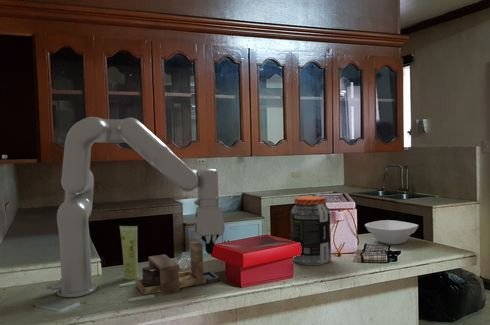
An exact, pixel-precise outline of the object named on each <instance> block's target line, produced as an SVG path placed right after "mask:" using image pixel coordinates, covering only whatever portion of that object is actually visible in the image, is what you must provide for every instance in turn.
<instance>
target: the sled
mask: <svg viewBox="0 0 490 325" xmlns="http://www.w3.org/2000/svg"><path fill="white" fill-rule="evenodd" d="M189 246H190V247H189V249H190V250H189V251H190V270H186V271H181V272H180V271H179V286H180V289H181V288H186V287H191V286H196V285H203V284H207V283H206V277H204V274H203V272H204V252H203V250H204V249H203V248H204V247H203V246H204V245H203V244H202V243H201V242H199V241H198V240H196V241H190V242H189ZM134 280H135V281H134V282H136V285H135V286H136V288H138V290H139V291H140V293H141V294H142V295H150V294H154V293H158V292H160V293H161V289H160V285H157V286H152V287H146V288H145V287H144V286H143V278H139V279H138V278H137V279H134Z"/></svg>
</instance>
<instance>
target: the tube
mask: <svg viewBox="0 0 490 325" xmlns="http://www.w3.org/2000/svg"><path fill="white" fill-rule="evenodd" d="M119 231H120V240H121V250H122V262H123V274H124V275H123V276H124V280H127V281H128V280H129V281H131V280H137V279H138V278H139V265H138V264H139V263H138V257H139V256H138V225H119Z"/></svg>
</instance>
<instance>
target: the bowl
mask: <svg viewBox="0 0 490 325" xmlns="http://www.w3.org/2000/svg"><path fill="white" fill-rule="evenodd" d="M364 227H365V228H366V229H367V231H368V232H369V233H371V234H372V235H373V237H374V238H375V241H377V242H379V243H383V244H387V245H398V244H403V243H407V240H408V239H409V238H410V236H411V235H412V234H414V233H415V232H416V231H417V229H418V228H419V224H416V223H412V222H407V221H401V220H392V219H391V220H390V219H386V220H385V219H384V220H377V221H371V222H367V223H365V224H364Z"/></svg>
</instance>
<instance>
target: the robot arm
mask: <svg viewBox="0 0 490 325" xmlns="http://www.w3.org/2000/svg"><path fill="white" fill-rule="evenodd" d="M64 140H65V142H64V148H63V149H64V150H63V159H62V172H61V178H60V182H61V187H62V189H63V190H64V201H63V202H62V203H61V204H60V205H59V207H58V209H57V213H56V223H57V229H58V237H59V238H58V239H59V254H60V255H59V256H60V257H59V258H60V274H61V275H60V278H59V280H57V282H48V283H46V289H47V290H50V291H55V290H57V291H56V295H57V296H58V297H61V298H78V297H82V296H87V295H90V294H92V293H94V292H96V290H97V289H98V286H97V284H96V282H93V280H92V278H93V276H92V258H91V257H92V256H91V255H92V254H91V239H90V238H91V236H90V235H91V234H90V228H89V227H90V226H89V218H90V216H91V213H92V212H93V211H92V210H93V200H94V198H93V197H94V186H95V178H94V174H93V172H92V170H91V169H90V168H91V158H92V154H91V153H92V146H93V145H94V144H95V143H99V144H101V143H126V144H127V145H128V146H130V147H131V148H132V149H133V150H134V151H135V152H136V153H137V154H138V155H139V156H141V157H142V158H143V159H144V160H145V161H146V162H147V163H148V164H150V165H151V166H152V167H153V168H154V169H156V170H158V171H159V172H160V173H161V174H163V176H165V177H166V178H167V179H168V180H169V181H170V182H172V183H173V184H174V185H175V186H176V187H177V188H178V189H179V190H180V191H183V192H187V193H188V192H193V191H194V190H196V189H197V200H194V201H193V203H194V206H197V207H196V209H195V213H194V214H195V216H194V231H195V232H194V233H195V237H194V238H195V239H197V240H202V241H203V242H204V246H205V252H206V254H209V255H213V254H212V251H213V246H214V245H215V243H216V241H217V240H218V239H219V238H220V237H222V236H224V235H225V230H226V229H225V219H224V213H223V208H222V206H221V205H220V201H219V200H220V199H219V198H220V197H219V196H220V195H219V194H220V193H219V173H218V170H217V169H216V168H201V169H192V168H190V167H189V166H188V165H187V164H186V163H185V162H183V161H182V160H181V159H180V158H179V157H178V156H177V155H176V154H175V153H174V152H173V151H172V150H171V149H170V148H169V146H167V145H166V143H164V142H163V141H162V140H161V139H160V138H158V137H157V135H155V134H154V133H153V132H152V131H151V130H150V129H148V128H147V127H146V126H145V125H144V124H143V123H142V122H140V120H139V119H137V118H135V117H126V118H122V119H117V118H116V119H113V118H112V119H111V118H109V119H107V118H106V119H105V118H101V117H97V116H88V117H85V118H83V119H81V120H79V121H77V122H75V123H74V124H73V125H72V126H71V127H70V129H69V130H68V132H67V133H66V137H65V139H64ZM215 246H216V245H215Z"/></svg>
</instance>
